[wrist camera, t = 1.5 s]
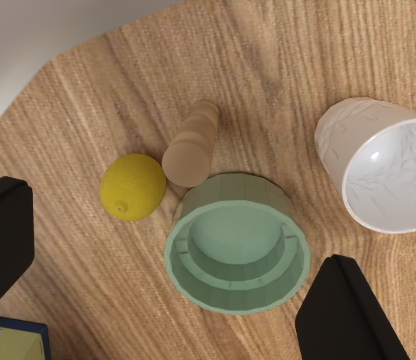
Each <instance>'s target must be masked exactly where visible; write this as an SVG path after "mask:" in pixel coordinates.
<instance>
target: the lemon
mask: <svg viewBox="0 0 416 360" xmlns="http://www.w3.org/2000/svg"><path fill="white" fill-rule="evenodd" d="M99 191H100V199H101V202H102V204H103V206H104V208H105V209H106V211H107V212H108V213H109V214H111V215H112V216H114V217H115V218H117V219H120V220H123V221H137V220H140V219H143V218H145V217H147V216H148V215H150V214H151V213H152V212H153V211H154V210H155V209H156V208H157V207H158V206H159V204H160V203H161V201H162V199H163V197H164V195H165V191H166V178H165V174H164V171H163V169H162V167H161V166H160V165H159V163H158V162H157V161H155V160H154V159H153V158H151V157H149V156H147V155H143V154H129V155H125V156H122V157H121V158H119V159H117V160H116V161H114V162H113V163H112V164H111V165H110V166H109V167H108V169H107V170H106V172H105V174H104V176H103V178H102V180H101V184H100V190H99Z"/></svg>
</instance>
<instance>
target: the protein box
mask: <svg viewBox="0 0 416 360" xmlns="http://www.w3.org/2000/svg"><path fill="white" fill-rule="evenodd" d="M0 360H51V359H50V350H49V343H48V335H47V326H46V325H42V324H36V323H30V322H24V321H19V320H13V319H7V318H1V317H0Z"/></svg>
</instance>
